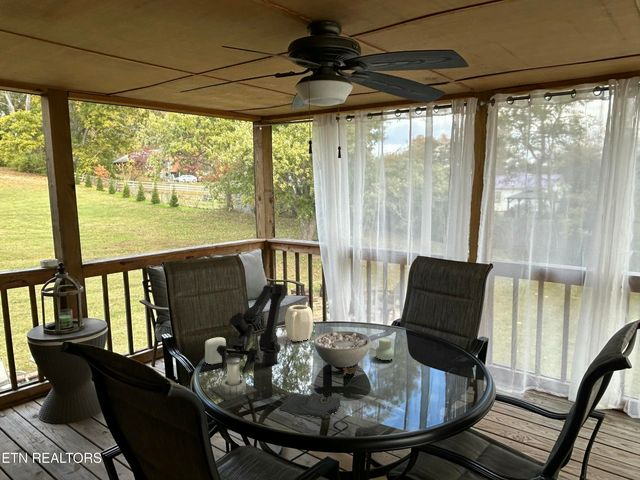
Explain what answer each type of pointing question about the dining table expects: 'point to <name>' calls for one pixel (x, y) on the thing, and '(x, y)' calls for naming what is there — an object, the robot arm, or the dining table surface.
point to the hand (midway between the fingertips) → (232, 371)
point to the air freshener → (384, 349)
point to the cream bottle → (233, 371)
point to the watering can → (299, 322)
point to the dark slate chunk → (311, 405)
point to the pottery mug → (351, 369)
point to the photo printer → (213, 350)
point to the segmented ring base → (233, 390)
